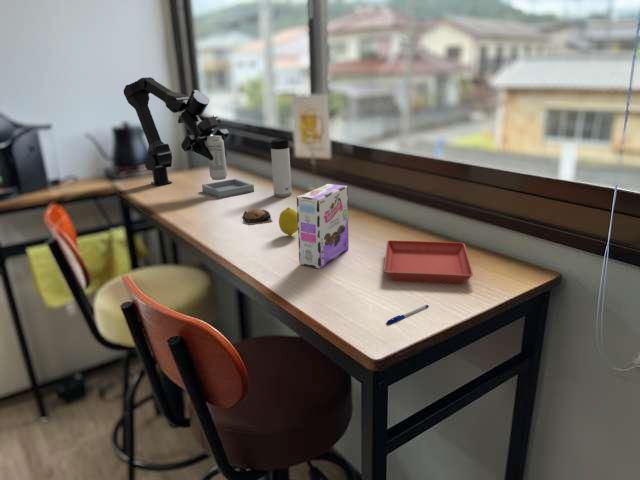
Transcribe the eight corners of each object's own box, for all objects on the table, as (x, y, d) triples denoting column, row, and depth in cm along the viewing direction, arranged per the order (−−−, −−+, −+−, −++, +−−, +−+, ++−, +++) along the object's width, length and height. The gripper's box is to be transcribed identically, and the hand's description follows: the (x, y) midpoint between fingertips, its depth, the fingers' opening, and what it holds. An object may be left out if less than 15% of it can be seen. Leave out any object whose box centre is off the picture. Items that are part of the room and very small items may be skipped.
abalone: (274, 224, 141) (274, 212, 140) (246, 227, 139) (245, 215, 137) (267, 213, 151) (266, 202, 149) (240, 217, 148) (239, 205, 147)
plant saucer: (472, 289, 97) (474, 274, 96) (383, 285, 100) (383, 270, 99) (463, 255, 113) (464, 242, 112) (386, 252, 116) (387, 240, 115)
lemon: (303, 233, 130) (301, 205, 128) (295, 240, 126) (294, 211, 123) (284, 231, 132) (282, 204, 129) (276, 238, 127) (274, 209, 125)
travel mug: (292, 197, 166) (288, 139, 159) (273, 197, 166) (269, 139, 159) (293, 192, 172) (290, 136, 165) (275, 193, 172) (271, 137, 165)
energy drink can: (230, 176, 174) (225, 135, 168) (223, 180, 168) (218, 137, 163) (214, 176, 175) (209, 135, 170) (207, 180, 169) (202, 137, 164)
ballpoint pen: (388, 327, 84) (389, 322, 83) (385, 325, 85) (385, 320, 84) (428, 308, 90) (429, 303, 89) (425, 306, 90) (425, 301, 90)
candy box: (320, 269, 107) (317, 199, 102) (298, 264, 110) (294, 196, 105) (349, 249, 118) (348, 184, 112) (329, 245, 121) (327, 182, 115)
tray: (202, 191, 178) (201, 184, 177) (236, 184, 186) (235, 178, 185) (219, 198, 167) (218, 191, 167) (254, 191, 175) (253, 184, 174)
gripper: (182, 111, 158) (208, 147, 156) (223, 105, 172) (248, 138, 170) (170, 133, 165) (195, 168, 163) (210, 126, 179) (234, 158, 177)
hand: (219, 157), depth 168 cm, fingers closed on energy drink can, 6 cm apart
